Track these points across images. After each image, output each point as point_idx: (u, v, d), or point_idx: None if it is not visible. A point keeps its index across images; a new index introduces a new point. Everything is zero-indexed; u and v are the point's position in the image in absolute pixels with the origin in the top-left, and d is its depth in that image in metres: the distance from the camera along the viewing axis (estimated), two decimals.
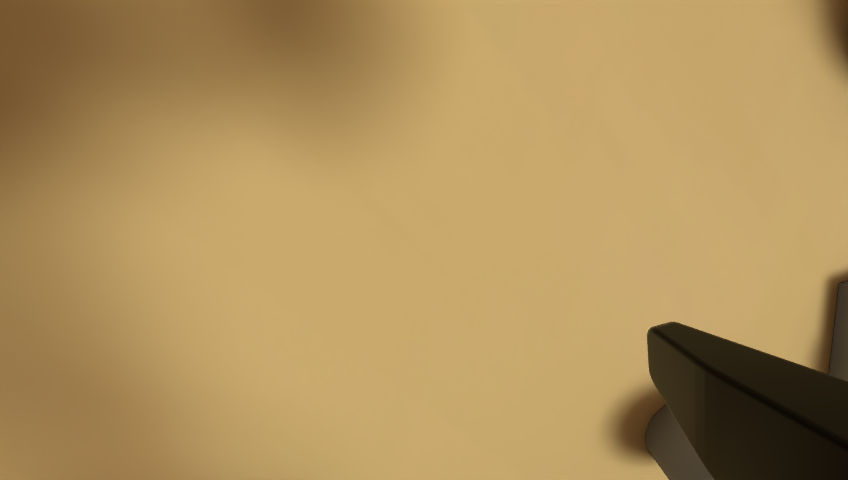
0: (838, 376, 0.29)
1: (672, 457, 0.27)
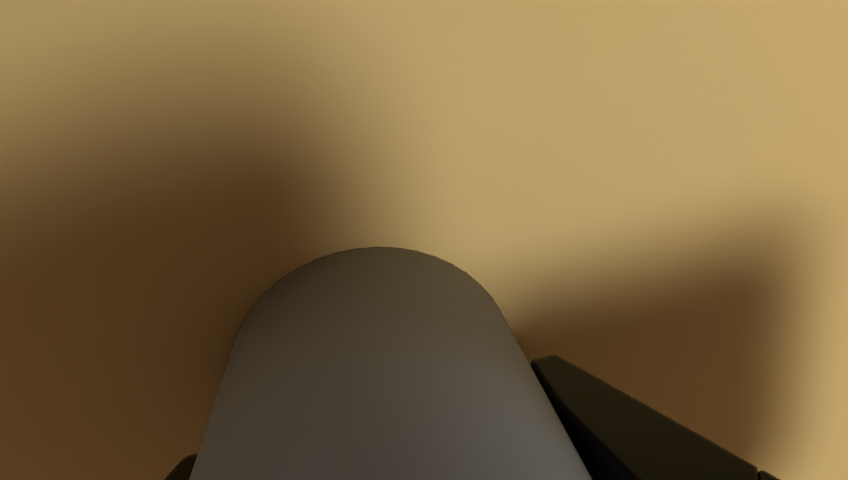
0: None
1: None
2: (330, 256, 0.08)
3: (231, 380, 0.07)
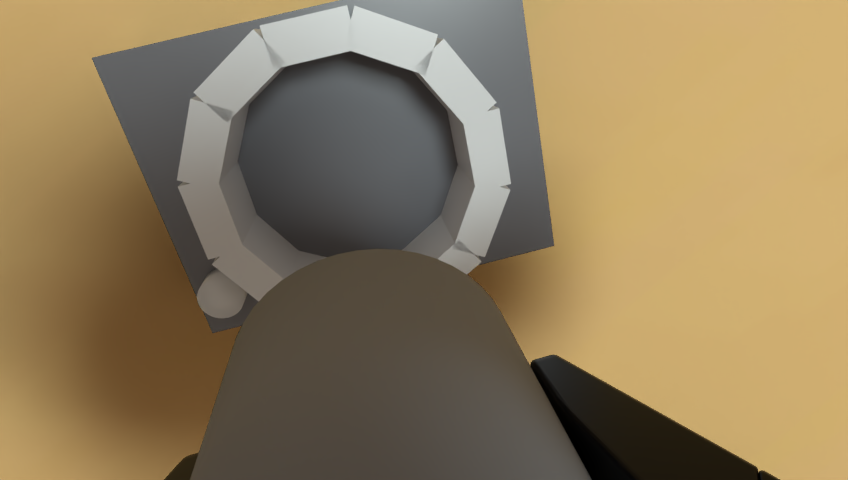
0: None
1: None
2: (330, 258, 0.08)
3: (231, 382, 0.07)
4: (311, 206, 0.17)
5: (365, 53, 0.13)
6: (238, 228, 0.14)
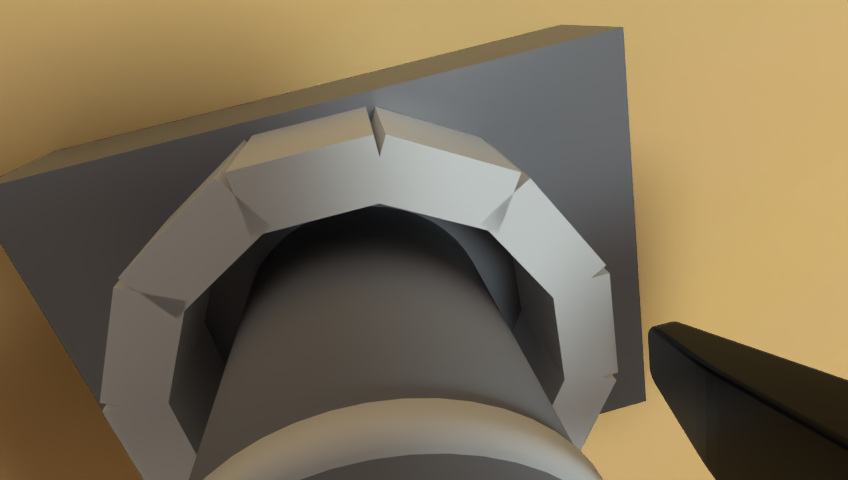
0: None
1: None
2: None
3: (254, 302, 0.09)
4: None
5: (402, 205, 0.08)
6: None
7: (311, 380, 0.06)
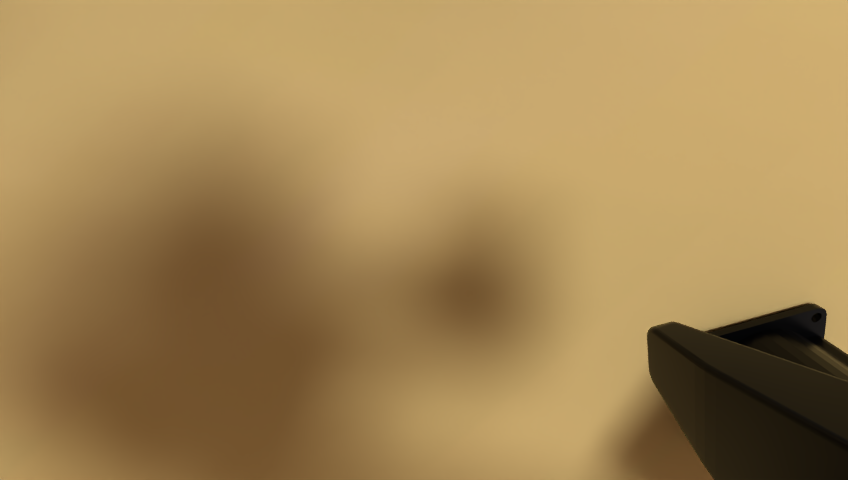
0: None
1: None
2: None
3: None
4: None
5: None
6: None
7: None
